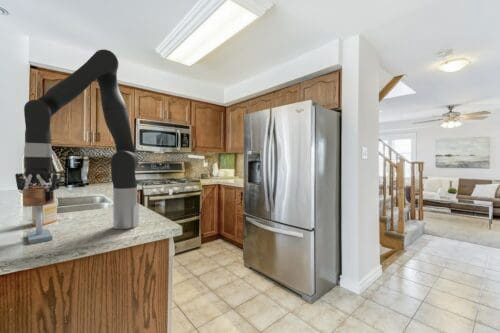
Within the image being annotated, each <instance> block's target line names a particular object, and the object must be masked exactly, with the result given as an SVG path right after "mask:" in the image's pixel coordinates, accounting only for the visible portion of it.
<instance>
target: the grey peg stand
mask: <svg viewBox="0 0 500 333" xmlns="http://www.w3.org/2000/svg"><path fill="white" fill-rule="evenodd" d="M43 226H44V225H43V224H42V206H36V226H35V230H32V231H27V232H26V238H27V241H28V244H29V245H32V244H38V243H43V242H44V243H45V242H50V241H53V235H52V233H51V232H50V230H49V228H45V229H44V227H43Z"/></svg>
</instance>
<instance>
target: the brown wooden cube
mask: <svg viewBox="0 0 500 333" xmlns="http://www.w3.org/2000/svg"><path fill="white" fill-rule="evenodd" d="M46 192H47V191H46V190H45V188H44V187H43V186H34V187H33V188H28V189H23V190H22V207H32V206H43V205H47V204H51V203H54V194H55V190H54V191H53V200H52V201H49V202H46Z"/></svg>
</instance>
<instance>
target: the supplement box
mask: <svg viewBox="0 0 500 333" xmlns="http://www.w3.org/2000/svg"><path fill="white" fill-rule="evenodd" d="M57 204H58V202H57V193H54V203H51V204H47V205H43V206H42V224H43V226H45V225H49V224H50V223H51V224H52V223H53V222H57V221H58V206H57ZM31 210H32V211H31V214H32V215H31V220H32V223H31V224H32V226H34V227H36V206H31Z"/></svg>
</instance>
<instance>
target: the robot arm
mask: <svg viewBox="0 0 500 333" xmlns="http://www.w3.org/2000/svg"><path fill="white" fill-rule="evenodd" d="M118 69H119V59H118V57H117V55H116V54H115V53H114V52H112V51H110V50H108V49H98V50H97V51H96V52H95V53H93V55H92V56H91V57H90V58H89V59H88V60H87V61H86V62H84V63H83V65H81V66H80V67H79V68H78V69H76V70H75V71H74V72H72V73H71V74H70V75H68V76H67V77H65V78H63V79H62V80H61V81H59V82H57V83H56V84H55V85H53V86H52V87H50V88H49V89H48V90H47V91H45V94H44V95H42V96H40V97H39V98H37V99H31V100H29V101H27V102H26V103H25V104H24V107H23V114H24V124H25V131H24V148H23V162H24V165H23V166H24V168H23V169H25V171H24V172H22V173H15V175H14V176H15V181H16V183H15V184H16V187H17V190H18V191H23V189H28V188H34V187H36V185H37V184H38V185H39V184H40V185H41V187H44V188H45V190H46V191H47V192H46V202H49V201H52V200H53V191H54V192H55V190H59V189H60V184H61V179H62V178H61V177H62V174H61V173H53V171H52V168H53V148H52V134H51V118H52V117H53V116H54V115H55V114H57V112H58V111H59V110H61V109H62V108H63V107H65V106H66V105H68V104H70V103H71V102H72V101H74V100H75V99H77V97H79V96H80V95H81V94H82V93H83V92H84V91H85V90H86V89H87V88H88V87H89V86H90V85H92V83H93V82H94V81H95V80H96V81H97V83H98V87H99V92H100V102H101V109H102V114H103V118H104V121H105V124H106V126H107V129H108V131H109V133H110V134H111V137H112V139H113V141H114V145H115V150H116V152H115V153H114V154H113V155H112V156H111V160H110V174H111V177H110V178H111V183H112V187H113V188H112V191H113V192H112V204H113V206H112V214H113V215H112V216H113V217H112V218H113V219H112V220H113V221H112V222H113V223H112V225H113V227H112V228H113V229H115V230H129V229H134V228H136V227H138V225H139V224H140V215H139V214H140V204H139V203H138V181H137V179H136V169H137V167H138V166H139V157H138V154H137V151H136V150H137V149H136V147H135V144H134V141H133V136H132V129H131V123H130V118H129V114H128V109H127V104H126V102H125V99H124V98H123V96H122V93H121V91H120V87H119V84H118V83H119V82H118V76H117V74H118Z"/></svg>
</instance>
